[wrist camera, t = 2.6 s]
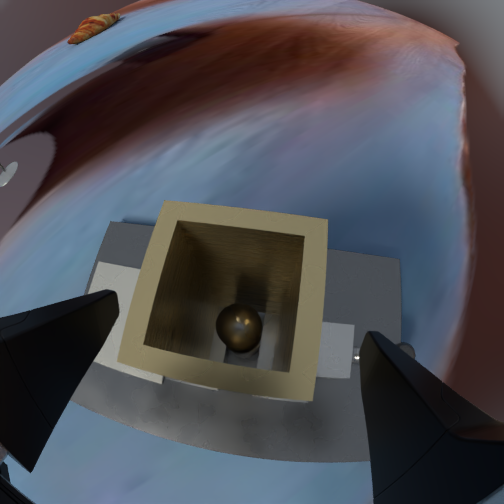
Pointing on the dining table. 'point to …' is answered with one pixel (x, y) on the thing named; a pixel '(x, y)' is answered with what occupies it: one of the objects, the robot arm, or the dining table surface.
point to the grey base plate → (249, 364)
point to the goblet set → (7, 173)
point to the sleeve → (229, 295)
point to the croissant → (93, 27)
